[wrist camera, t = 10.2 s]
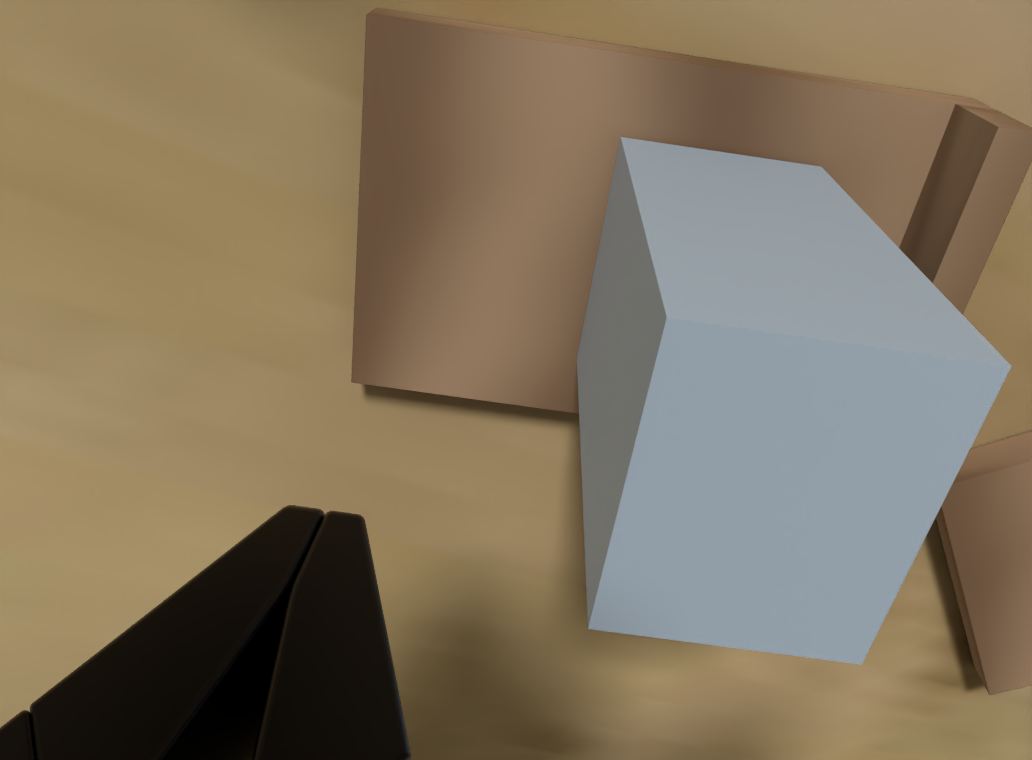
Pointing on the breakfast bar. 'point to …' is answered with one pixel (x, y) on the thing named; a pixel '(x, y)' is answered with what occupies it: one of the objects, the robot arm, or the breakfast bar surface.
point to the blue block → (762, 407)
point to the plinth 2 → (993, 558)
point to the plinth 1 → (609, 186)
